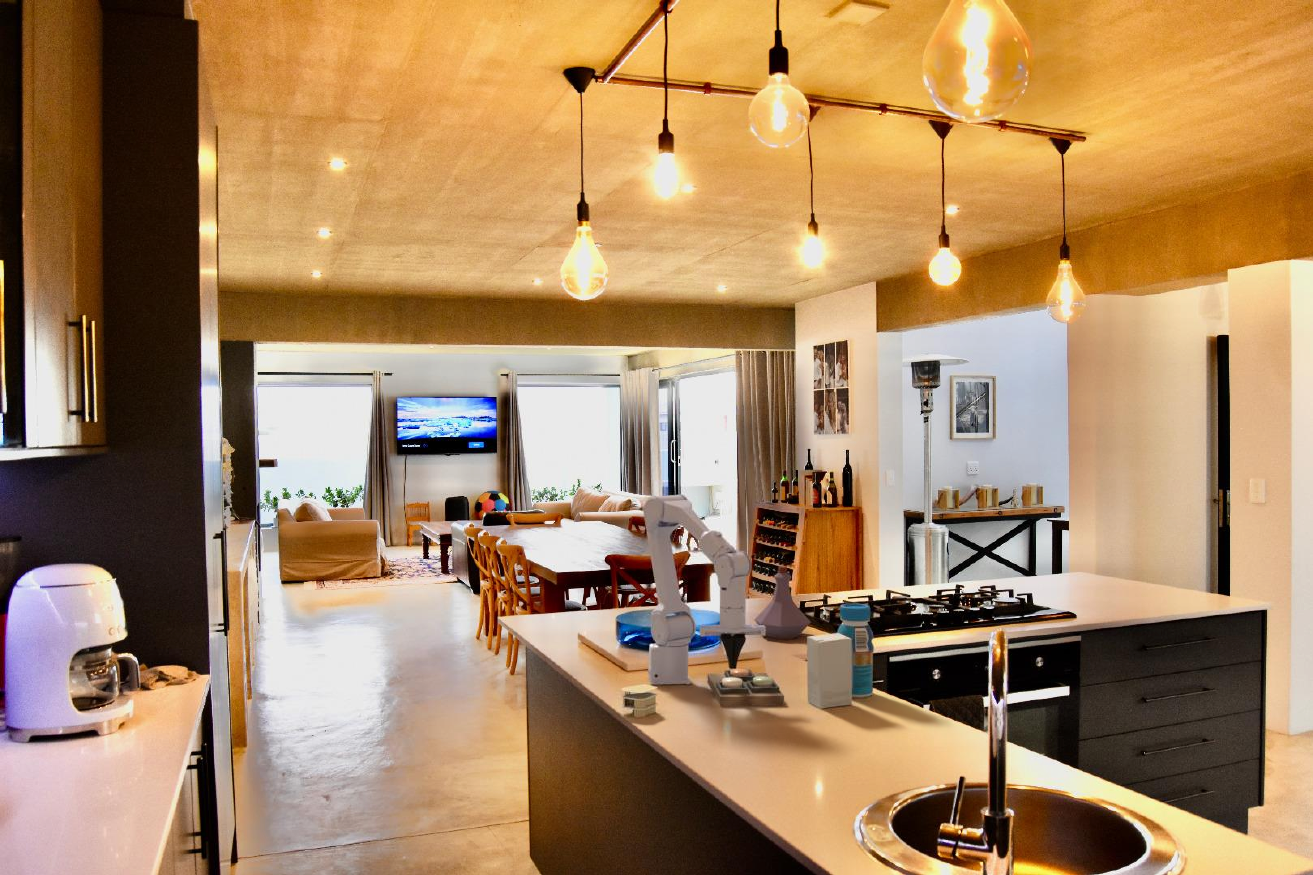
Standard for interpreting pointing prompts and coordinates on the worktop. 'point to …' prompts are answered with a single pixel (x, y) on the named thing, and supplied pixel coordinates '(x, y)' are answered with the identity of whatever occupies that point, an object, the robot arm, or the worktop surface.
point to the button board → (744, 691)
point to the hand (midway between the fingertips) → (732, 667)
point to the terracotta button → (739, 672)
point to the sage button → (762, 681)
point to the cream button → (732, 682)
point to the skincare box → (829, 670)
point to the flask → (782, 611)
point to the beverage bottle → (859, 646)
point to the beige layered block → (640, 699)
